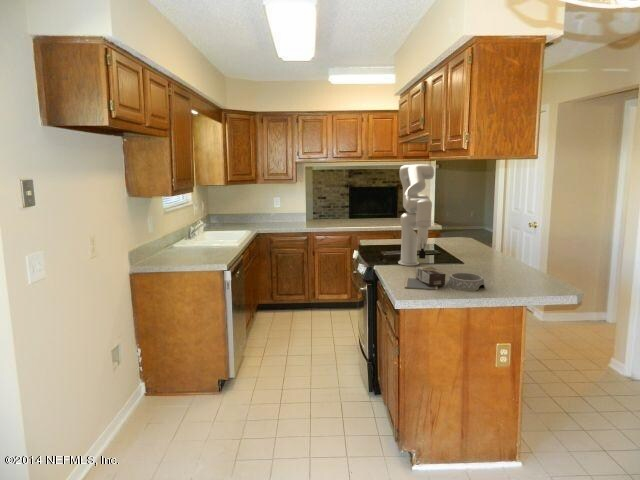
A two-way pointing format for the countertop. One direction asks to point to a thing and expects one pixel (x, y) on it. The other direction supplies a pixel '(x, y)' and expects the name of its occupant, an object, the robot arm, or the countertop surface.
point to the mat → (418, 284)
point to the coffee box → (430, 276)
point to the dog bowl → (465, 281)
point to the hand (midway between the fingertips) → (422, 258)
